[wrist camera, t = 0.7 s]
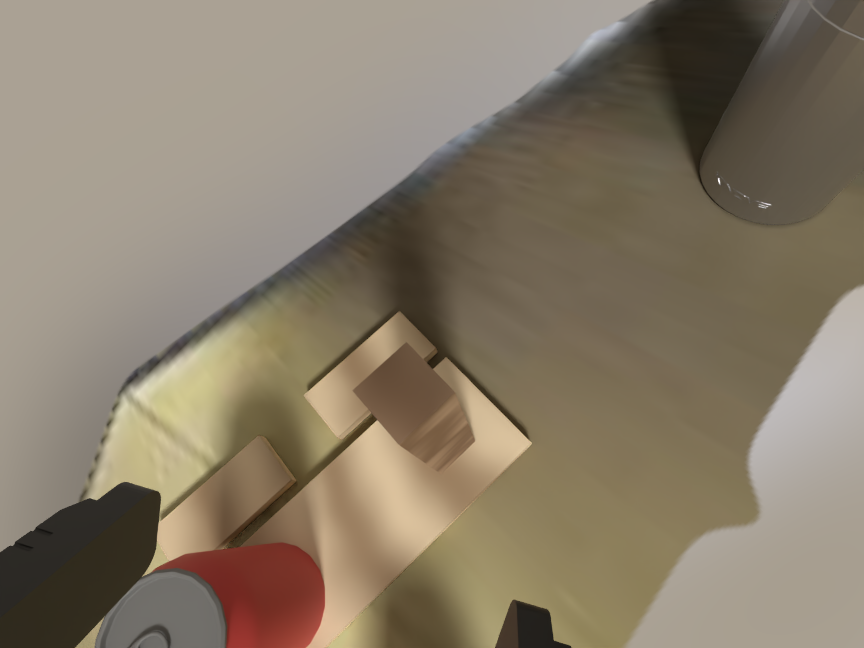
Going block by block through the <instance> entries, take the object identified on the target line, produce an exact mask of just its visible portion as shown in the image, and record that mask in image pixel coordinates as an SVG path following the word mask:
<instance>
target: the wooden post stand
mask: <svg viewBox="0 0 864 648" xmlns="http://www.w3.org/2000/svg"><path fill="white" fill-rule="evenodd" d="M352 391H353V392H354V393H355V394H356V396H357V397H358V398H359V399H360V400H361V401H362V403H363V404H364V405H365V406H366V407H367V408H368V410H369V411H370V412H371V413H372V414H373V415H374V417H375V418H376V419H377V421H376V422H375V423H374V424H373V425H371V426H370V427H369V428H368V429H367V430H366V431H365V432H364V433H363V434H362V435H361V436H360V437H358V438H357V439H356V440H355V441H354V442H353V443H352V444H351V445H350V446H349V447H348V448H346V449H345V450H344V451H343V452H342V453H341V454H340V455H339V456H338V457H337V458H336V459H334V460H333V461H332V462H331V463H330V464H329V465H328V466H327V467H326V468H325V469H324V470H322V471H321V472H320V473H319V474H318V475H317V476H316V477H315V478H314V479H313V480H312V481H310V482H309V483H308V484H307V485H306V486H305V487H304V488H303V489H302V490H301V491H300V492H298V493H297V494H296V495H295V496H294V497H293V498H292V499H291V500H290V501H289V502H288V503H287V504H285V505H284V506H283V507H282V508H281V509H280V510H279V511H278V512H277V513H276V514H275V515H273V516H272V517H271V518H270V519H269V520H268V521H267V522H266V523H265V524H264V525H263V526H261V527H260V528H259V529H258V530H257V531H256V532H255V533H254V534H253V535H252V536H251V537H249V538H248V539H247V540H246V541H245V542H244V543H243V544H242V545H241V546H240V547H246V546H254V545H262V544H271V543H280V542H283V543H287V544H291V545H295V546H298V547H299V548H300V549H302V550H303V551H305V552H306V553H307V554H309V555H310V556H311V558H312V559H313V560H314V562H315V563H316V565H317V566H318V568H319V569H320V572H321V576H322V579H323V582H324V586H325V609H324V613H323V617H322V621H321V625H320V627H319V629H318V631H317V633H316V634H315V636H314V638H313V640H312V641H311V643H310V644H309V645H308V646H307V647H306V648H327V647H328V646H329V645H330V644H331V643H332V642H333V641H334V640H335V639H336V638H337V637H338V636H339V635H340V634H341V633H342V632H343V631H344V630H345V629H346V628H347V627H348V626H349V625H350V624H351V623H352V622H353V621H354V620H355V619H356V618H357V617H358V616H359V615H360V614H361V613H362V612H363V611H364V610H365V609H366V608H367V607H368V606H369V605H370V604H371V603H372V602H373V601H374V600H375V599H376V598H377V597H378V596H379V595H380V594H381V593H382V592H383V591H384V590H385V589H386V588H387V587H388V586H389V585H390V584H391V583H392V582H393V581H394V580H395V579H396V578H397V577H398V576H399V575H400V574H401V573H402V572H403V571H404V570H405V569H406V568H407V567H408V566H409V565H410V564H411V563H412V562H413V561H414V560H415V559H416V558H417V557H418V556H419V555H420V554H422V553H423V552H424V551H425V550H426V549H427V548H428V547H429V546H430V545H431V544H432V543H433V542H434V541H435V540H436V539H437V538H438V537H439V536H440V535H441V534H442V533H443V532H444V531H445V530H446V529H447V528H448V527H449V526H450V525H451V524H452V523H453V522H454V521H455V520H456V519H457V518H458V517H459V516H460V515H461V514H462V513H463V512H464V511H465V510H466V509H467V508H468V507H469V506H470V505H471V504H472V503H473V502H474V501H475V500H476V499H477V498H478V497H479V496H480V495H481V494H482V493H483V492H484V491H485V490H486V489H487V488H488V487H489V486H490V485H491V484H492V483H493V482H494V481H495V480H496V479H497V478H498V477H499V476H500V475H501V474H502V473H503V472H504V471H505V470H506V469H507V468H508V467H509V466H510V465H511V464H512V463H513V462H514V461H515V460H516V459H517V458H518V457H519V456H520V455H521V454H522V453H523V452H524V451H525V450H526V449H527V448H529V447H530V446H531V442H530V441H529V440H528V439H527V438H526V437H525V436H524V435H523V434H522V433H521V432H520V431H519V430H518V429H517V428H516V427H515V426H514V425H513V424H512V423H511V422H510V421H509V420H508V419H507V418H506V417H505V416H504V415H503V414H502V413H501V412H500V411H499V410H498V409H497V408H496V407H495V406H494V405H493V404H492V403H491V402H490V401H489V400H488V399H487V398H486V397H485V396H484V395H483V394H482V393H481V392H480V391H479V389H478V388H477V387H476V386H475V385H474V384H473V383H472V382H471V381H470V380H469V379H468V378H467V377H466V376H465V375H464V374H463V373H462V372H461V371H460V370H459V369H458V368H457V367H456V366H455V365H454V364H453V363H452V362H451V361H450V360H449V359H448V358H447V357H446V358H445V359H443V360H442V361H441V362H440V363H439V364H438V365H437V366H436V367H435V368H434V369H432V368H431V367H430V366H429V365H428V364H427V363H426V362H425V361H424V360H423V358H422V357H421V356H420V355H419V354H418V353H417V352H416V351H415V350H414V349H413V348H412V347H411V346H410V345H409V344H408V343H407V342H406V343H405V344H404V345H402V346H401V347H400V348H399V349H398V350H397V351H396V352H395V353H394V354H392V355H391V356H390V357H389V358H388V359H387V360H386V361H385V362H383V363H382V364H381V365H380V366H379V367H378V368H377V369H376V370H375V371H373V372H372V373H371V374H370V375H369V376H368V377H367V378H366V379H365V380H363V381H362V382H361V383H360V384H359V385H358V386H357V387H356V388H354V389H353V390H352Z"/></svg>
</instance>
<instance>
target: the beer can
mask: <svg viewBox="0 0 864 648" xmlns="http://www.w3.org/2000/svg"><path fill="white" fill-rule="evenodd" d="M324 609H325V586H324V582H323V579H322V576H321V572H320V569H319V568H318V566H317V565H316V563H315V562H314V560H313V559H312V558H311V556H310V555H309V554H307V553H306V552H305V551H303V550H302V549H300V548H299V547H298V546H295V545H291V544H287V543H283V542H280V543H271V544H262V545H254V546H246V547H237V548H229V549H221V550H212V551H204V552H196V553H188V554H184V555H182V556H180V557H178V558H175V559H173V560H171V561H169V562H167V563H165V564H163V565H161V566H159V567H157V568H156V569H154V570H153V571H152V572H151V573H149V574H147V575H145V576H143V577H141V578H140V579H139V580H138V581H137V583H136V584H135V585H134V586H133V587H132V588H131V589H130V590H129V591H128V592H127V593H126V594H125V595H124V596H123V597H122V598H121V599H120V601H119V602H118V603H117V604H116V605H115V606H114V607H113V608H112V609H111V610H110V611H109V612H108V613H107V614H106V615H105V617H104V620H103V622H102V625H101V627H100V630H99V633H98V635H97V638H96V642H95V648H306V647H307V646H308V645H309V644H310V643H311V641H312V640H313V638H314V636H315V634H316V633H317V631H318V629H319V627H320V625H321V621H322V617H323V613H324Z"/></svg>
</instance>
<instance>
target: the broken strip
mask: <svg viewBox="0 0 864 648" xmlns="http://www.w3.org/2000/svg"><path fill="white" fill-rule="evenodd" d="M406 342H407V343H408V344H409V345H410V346H411V347H412V348H413V349H414V350H415V351H416V352H417V353H418V354H419V355H420V356H421V357H422V358H423V360H424V361H425V362H426V363H427V362H428V361H429V360H430V359H431V358H432V357H433V356H434V355H435V354H437V353H438V352H437V349H436V347H435V346H434V345H433V344H432V343H431V342H430V341H429V340H428V339H427V338H426V337H425V336H424V335H423V334H422V333H421V332H420V331H419V330H418V329H417V328H416V327H415V326H414V325H413V324H412V323H411V322H410V321H409V320H408V319H407V318H406V317H405V316H404V315H403V314H402V313H401V312H400V311H399V312H398V313H397V314H395V315H394V316H393V317H392V318H391V319H390V320H389V321H387V322H386V323H385V324H384V325H383V326H382V327H381V328H380V329H378V330H377V331H376V332H375V333H374V334H373V335H372V336H370V337H369V338H368V339H367V340H366V341H365V342H364V343H362V344H361V345H360V346H359V347H358V348H357V349H356V350H355V351H353V352H352V353H351V354H350V355H349V356H348V357H347V358H345V359H344V360H343V361H342V362H341V363H340V364H339V365H337V366H336V367H335V368H334V369H333V370H332V371H331V372H330V373H328V374H327V375H326V376H325V377H324V378H323V379H322V380H320V381H319V382H318V383H317V384H316V385H315V386H314V387H313V388H311V389H310V390H309V391H308V392H307V393H306V394H305V395H304V396H305V398H306V399H307V400H308V401H309V403H310V404H311V405H312V406H313V408H314V409H315V410H316V411H317V413H318V414H319V415H320V416H321V418H322V419H323V420H324V421H325V423H326V424H327V425H328V426H329V428H330V429H331V430H332V431H333V433H334V434H335V435H336V436H337V438H339V439H343V438H345V437H346V436H347V435H348V434H349V433H350V432H351V431H352V430H353V429H354V428H355V427H357V426H358V425H359V424H360V423H361V422H362V421H363V420H364V419H365V418H366V417H368V416H369V415H370V414H371V412H370V411H369V410H368V408H367V407H366V406H365V405H364V404H363V403H362V401H361V400H360V399H359V398H358V397H357V396H356V394H355V393H354V392H353V391H352V390H353V389H354V388H356V387H357V386H358V385H359V384H360V383H361V382H362V381H363V380H365V379H366V378H367V377H368V376H369V375H370V374H371V373H372V372H373V371H375V370H376V369H377V368H378V367H379V366H380V365H381V364H382V363H383V362H385V361H386V360H387V359H388V358H389V357H390V356H391V355H392V354H394V353H395V352H396V351H397V350H398V349H399V348H400V347H401V346H402V345H404V344H405V343H406ZM296 481H297V480H296V479H295V478H294V476H293V475H292V473H291V472H290V471H289V469H288V468H287V467H286V465H285V464H284V462H283V461H282V460H281V458H280V457H279V456H278V454H277V453H276V451H275V450H274V449H273V447H272V446H271V445H270V443H269V442H268V440H267V439H266V438H265V437H263V436H260V435H258V436H257V437H256V438H255V439H253V440H252V441H251V442H250V443H249V444H248V445H247V446H246V447H244V448H243V449H242V450H241V451H240V452H239V453H238V454H236V455H235V456H234V457H233V458H232V459H231V460H230V461H229V462H227V463H226V464H225V465H224V466H223V467H222V468H221V469H219V470H218V471H217V472H216V473H215V474H214V475H213V476H211V477H210V478H209V479H208V480H207V481H206V482H205V483H204V484H202V485H201V486H200V487H199V488H198V489H197V490H196V491H194V492H193V493H192V494H191V495H190V496H189V497H188V498H187V499H185V500H184V501H183V502H182V503H181V504H180V505H179V506H177V507H176V508H175V509H174V510H173V511H172V512H171V513H169V514H168V515H167V516H166V517H165V518H164V519H163V520H162V521H160V522H159V523H158V533H157V541H158V543H159V545H160V547H161V548H162V550H163V552H164V554H165V556H166V557H167V559H168V561H171V560H173V559H175V558H178V557H180V556H182V555H184V554H188V553H196V552H204V551H212V550H221V549H223V548H224V547H225V546H226V545H227V544H228V543H229V542H231V541H232V540H233V539H234V538H235V537H236V536H237V535H238V534H239V533H240V532H242V531H243V530H244V529H245V528H246V527H247V526H248V525H249V524H250V523H251V522H252V521H254V520H255V519H256V518H257V517H258V516H259V515H260V514H261V513H262V512H263V511H265V510H266V509H267V508H268V507H269V506H270V505H271V504H272V503H273V502H274V501H275V500H277V499H278V498H279V497H280V496H281V495H282V494H283V493H284V492H285V491H286V490H288V489H289V488H290V487H291V486H292V485H293V484H294V483H295V482H296Z"/></svg>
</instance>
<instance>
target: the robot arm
mask: <svg viewBox="0 0 864 648" xmlns="http://www.w3.org/2000/svg"><path fill="white" fill-rule="evenodd" d="M863 170H864V0H784V1H783V3H782V5H781V7H780V9H779V11H778V12H777V14H776V16H775V18H774V20H773V22H772V24H771V26H770V28H769V29H768V31H767V33H766V35H765V37H764V39H763V41H762V43H761V45H760V46H759V48H758V50H757V52H756V54H755V56H754V58H753V60H752V62H751V63H750V65H749V67H748V69H747V71H746V73H745V75H744V77H743V78H742V80H741V82H740V84H739V86H738V88H737V90H736V92H735V94H734V95H733V97H732V99H731V101H730V103H729V105H728V107H727V109H726V110H725V112H724V114H723V116H722V118H721V120H720V121H719V123H718V125H717V127H716V129H715V131H714V133H713V135H712V137H711V138H710V140H709V142H708V144H707V146H706V148H705V150H704V152H703V154H702V157H701V160H700V176H701V180H702V184H703V185H704V187H705V189H706V191H707V193H708V194H709V195H710V196H711V198H712V199H713V200H714V201H715V202H716V203H717V204H718V205H720V206H721V207H722V208H723V209H725V210H726V211H728V212H730V213H732V214H733V215H735V216H737V217H739V218H742V219H745V220H748V221H751V222H755V223H761V224H767V225H785V224H790V223H796V222H800V221H803V220H805V219H808V218H811V217H812V216H814V215H815V214H817V213H819V212H820V211H822V210H823V209H824V208H825V207H826V206H827V205H828V204H829V203H830V202H831V201H832V200H833V199H834V198H835V197H836V196H837V195H838V194H839V193H840V192H841V191H842V190H843V189H844V188H845V187H846V186H847V185H848V184H849V183H850V182H851V181H852V180H853V179H854V178H855V177H856V176H857V175H858V174H859V173H861V172H862V171H863ZM160 503H161V496H160V493H159V492H158V491H155V490H152V489H148V488H145V487H142V486H138V485H135V484H132V483H128V482H123V483H120V484H119V485H117V486H116V487H114V488H113V489H112V490H110V491H109V492H108V493H106V494H105V495H104V496H102V497H101V498H100V499H98V500H94V499H90V498H89V499H87V500H84V501H82V502H79V503H77V504H74V505H72V506H69V507H67V508H64V509H62V510H60V511H58V512H57V513H55V514H54V515H53V516H51V517H50V518H48V519H47V520H46V521H44V522H43V523H41V524H40V525H38V526H37V527H36V529H35V530H34V531H30V532H29V533H27V534H26V535H24V536H23V537H21V538H20V539H19V540H17V541H16V542H15V544H14V545H13V546H9V547H7V548H6V549H4V550H3V551H2V552H0V648H75V647H76V646H77V645H78V644H79V643H80V642H81V641H82V640H83V639H84V638H85V636H86V635H87V634H88V633H89V632H90V631H91V630H92V629H93V628H94V627H95V626H96V625H97V624H98V623H99V622H100V621H101V620H102V618H103V617H104V616H105V615H106V614H107V613H108V612H109V611H110V610H111V609H112V608H113V607H114V606H115V605H116V604H117V603H118V602H119V601H120V599H121V598H122V597H123V596H124V595H125V594H126V593H127V592H128V591H129V590H130V589H131V588H132V587H133V586H134V585H135V584H136V583H137V581H138V580H139V579H140V578H141V577H142V576H143V574H144V573H145V572H146V570H147V569H148V567H149V565H150V563H151V561H152V559H153V556H154V554H155V550H156V544H157V533H158V523H159V513H160ZM495 648H571V646H569V645H566V644H563V643H559V642H556V641H554V640H553V632H552V624H551V617H550V613H549V611H548V610H547V609H544V608H540V607H537V606H534V605H530V604H527V603H524V602H520V601H517V600H513V601H512V602H511V604H510V607H509V609H508V612H507V615H506V618H505V621H504V624H503V626H502V629H501V632H500V635H499V638H498V641H497V644H496V647H495Z"/></svg>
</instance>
